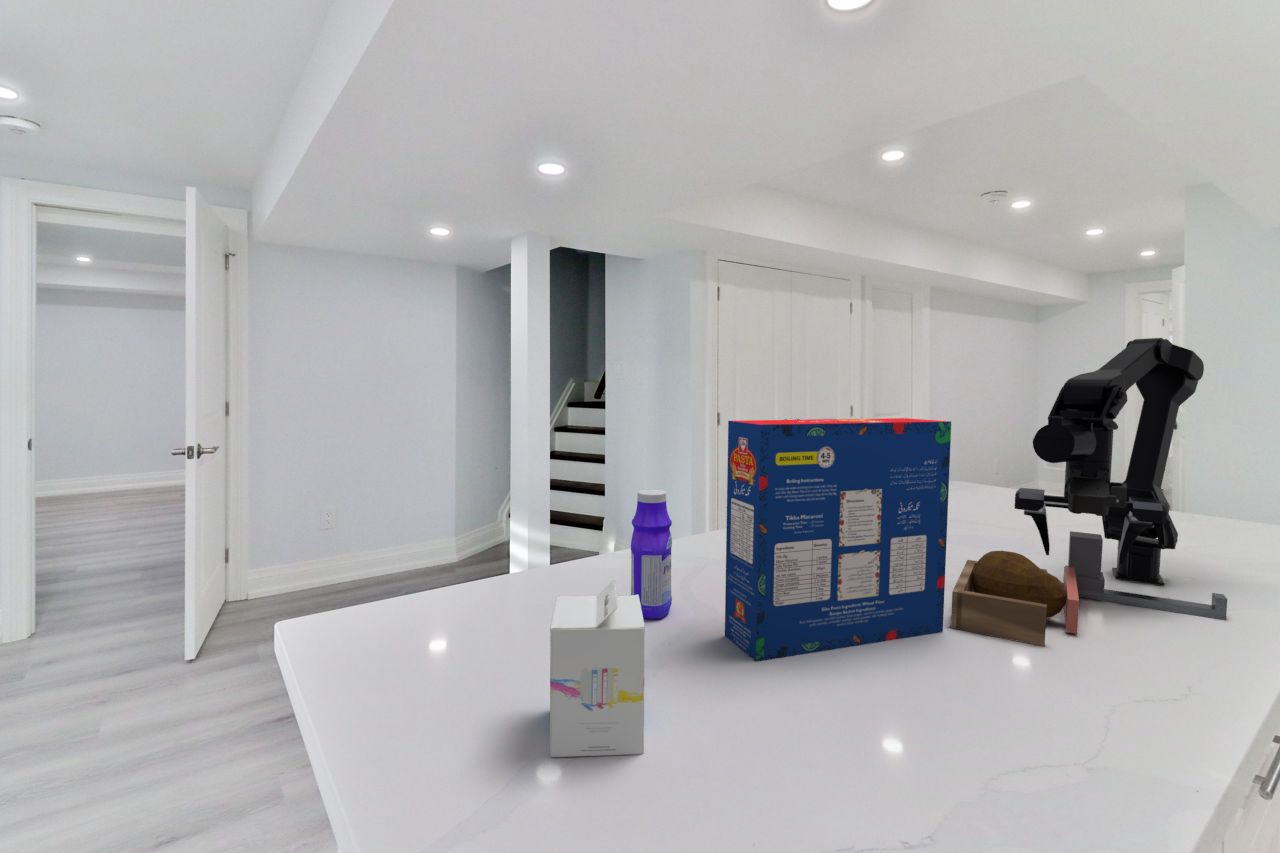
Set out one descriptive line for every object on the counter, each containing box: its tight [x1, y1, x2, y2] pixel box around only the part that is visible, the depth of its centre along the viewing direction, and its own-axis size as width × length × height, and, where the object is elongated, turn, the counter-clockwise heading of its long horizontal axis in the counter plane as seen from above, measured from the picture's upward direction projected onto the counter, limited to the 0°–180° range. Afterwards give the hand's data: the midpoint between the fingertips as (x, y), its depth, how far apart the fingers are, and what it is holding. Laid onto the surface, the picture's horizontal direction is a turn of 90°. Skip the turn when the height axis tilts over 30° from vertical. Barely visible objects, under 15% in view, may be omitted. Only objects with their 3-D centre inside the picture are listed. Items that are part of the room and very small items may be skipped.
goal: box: [950, 559, 1048, 647], centre depth 89 cm, size 18×11×5 cm, turn 147°
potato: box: [972, 550, 1067, 620], centre depth 90 cm, size 8×12×9 cm
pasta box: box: [724, 417, 952, 663], centre depth 81 cm, size 28×8×28 cm, turn 109°
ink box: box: [549, 579, 646, 758], centre depth 58 cm, size 9×8×13 cm
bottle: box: [630, 488, 673, 620], centre depth 88 cm, size 7×6×17 cm
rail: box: [1041, 568, 1228, 621], centre depth 95 cm, size 2×22×3 cm, turn 57°
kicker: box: [1063, 530, 1106, 635], centre depth 90 cm, size 22×5×9 cm, turn 147°
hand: (1082, 559), depth 97 cm, fingers open, 9 cm apart
